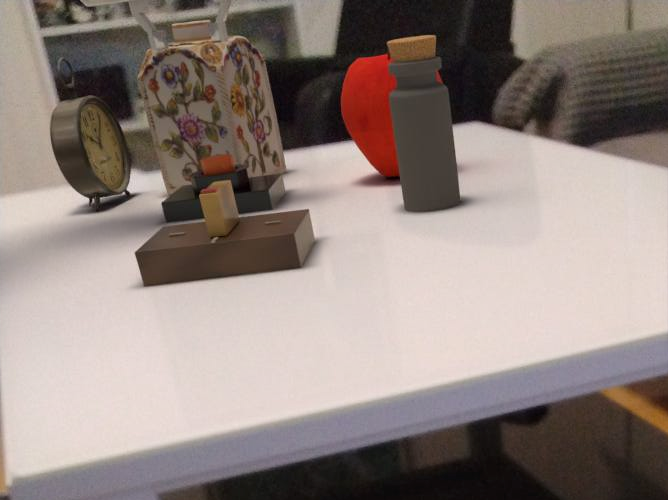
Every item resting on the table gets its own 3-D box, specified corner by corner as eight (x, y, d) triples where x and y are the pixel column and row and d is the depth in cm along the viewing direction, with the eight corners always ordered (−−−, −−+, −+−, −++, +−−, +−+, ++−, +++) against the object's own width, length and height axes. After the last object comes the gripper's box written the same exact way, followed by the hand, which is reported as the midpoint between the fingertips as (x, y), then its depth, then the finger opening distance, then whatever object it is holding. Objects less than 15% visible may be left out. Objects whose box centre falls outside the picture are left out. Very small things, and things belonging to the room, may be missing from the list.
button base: (166, 223, 113) (156, 185, 111) (186, 205, 121) (177, 169, 119) (272, 210, 112) (264, 171, 110) (286, 193, 121) (278, 156, 118)
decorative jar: (165, 197, 127) (121, 31, 117) (211, 177, 136) (174, 21, 126) (249, 192, 124) (211, 20, 114) (291, 172, 133) (259, 11, 123)
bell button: (201, 178, 113) (197, 161, 112) (207, 173, 116) (203, 156, 115) (232, 175, 113) (229, 157, 112) (238, 169, 116) (235, 152, 115)
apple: (349, 193, 116) (327, 59, 109) (358, 174, 126) (338, 50, 118) (453, 180, 116) (437, 45, 108) (453, 162, 125) (439, 37, 118)
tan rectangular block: (223, 222, 94) (212, 179, 92) (239, 220, 94) (230, 176, 92) (209, 237, 89) (197, 192, 87) (227, 235, 89) (216, 189, 87)
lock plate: (144, 287, 89) (133, 250, 88) (171, 259, 98) (162, 224, 96) (301, 269, 89) (293, 231, 87) (315, 241, 97) (308, 206, 95)
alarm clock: (105, 213, 123) (59, 59, 114) (65, 217, 124) (16, 65, 115) (143, 194, 132) (104, 50, 122) (105, 197, 133) (63, 55, 124)
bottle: (395, 214, 103) (370, 44, 95) (417, 201, 108) (395, 37, 100) (449, 212, 102) (429, 38, 93) (468, 198, 106) (450, 32, 98)
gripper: (38, -103, 98) (85, 61, 106) (247, -132, 97) (279, 36, 105) (60, -100, 103) (103, 56, 111) (258, -128, 102) (288, 32, 110)
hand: (190, 46), depth 108 cm, fingers open, 5 cm apart
